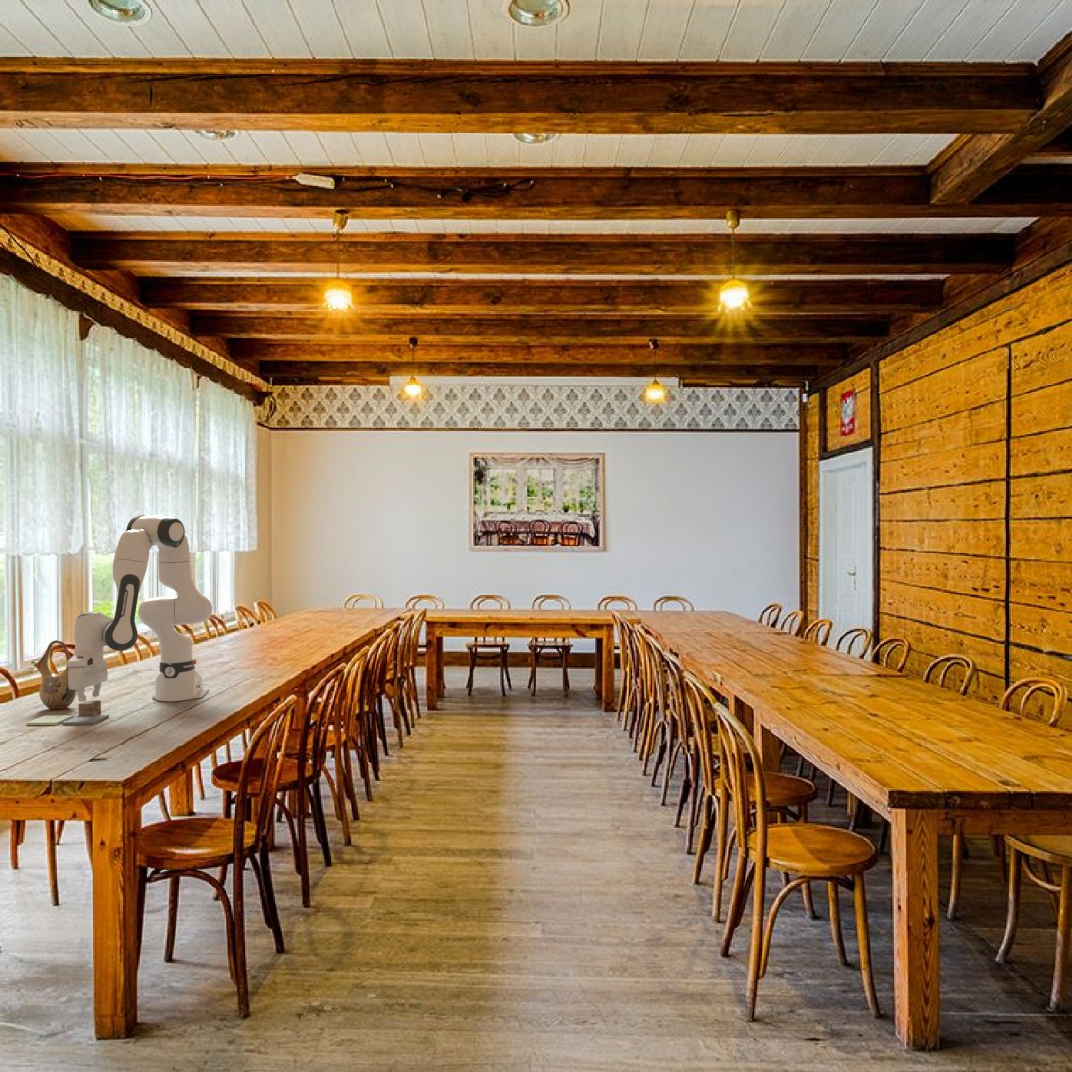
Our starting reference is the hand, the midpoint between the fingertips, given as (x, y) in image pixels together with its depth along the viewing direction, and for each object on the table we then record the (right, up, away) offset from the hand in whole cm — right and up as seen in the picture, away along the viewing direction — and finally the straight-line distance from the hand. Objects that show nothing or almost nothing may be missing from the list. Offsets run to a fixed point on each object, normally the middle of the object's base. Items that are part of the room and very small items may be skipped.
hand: (89, 698), depth 278 cm
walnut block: (-1, -6, +2) cm, 7 cm away
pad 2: (+2, -6, -6) cm, 9 cm away
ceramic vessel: (-19, -7, +14) cm, 24 cm away
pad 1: (-10, -7, -6) cm, 13 cm away
